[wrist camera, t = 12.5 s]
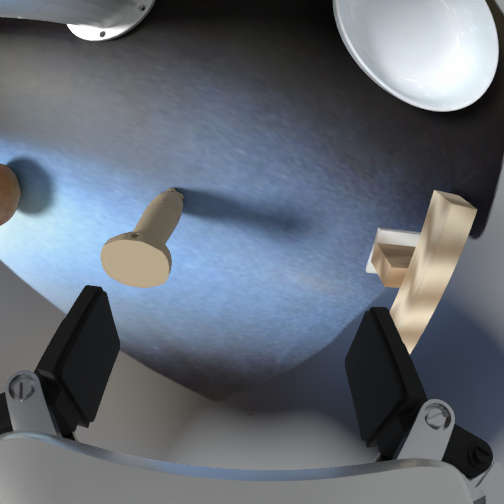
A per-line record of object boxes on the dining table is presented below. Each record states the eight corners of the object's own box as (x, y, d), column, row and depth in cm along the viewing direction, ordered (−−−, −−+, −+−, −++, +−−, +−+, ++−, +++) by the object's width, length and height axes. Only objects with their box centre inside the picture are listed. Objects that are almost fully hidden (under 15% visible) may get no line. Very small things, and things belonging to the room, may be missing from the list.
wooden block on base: (378, 227, 40) (396, 253, 34) (429, 233, 40) (451, 258, 34) (365, 269, 44) (379, 299, 38) (415, 272, 44) (432, 299, 38)
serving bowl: (480, 97, 29) (512, 105, 23) (348, 117, 33) (368, 126, 27) (441, -40, 19) (468, -51, 13) (295, -39, 22) (304, -61, 16)
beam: (434, 189, 30) (452, 204, 26) (458, 195, 30) (477, 209, 27) (375, 342, 42) (382, 362, 39) (397, 341, 42) (405, 361, 39)
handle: (148, 179, 37) (97, 236, 24) (198, 182, 37) (168, 244, 24) (149, 213, 39) (104, 282, 26) (196, 218, 40) (170, 291, 27)
